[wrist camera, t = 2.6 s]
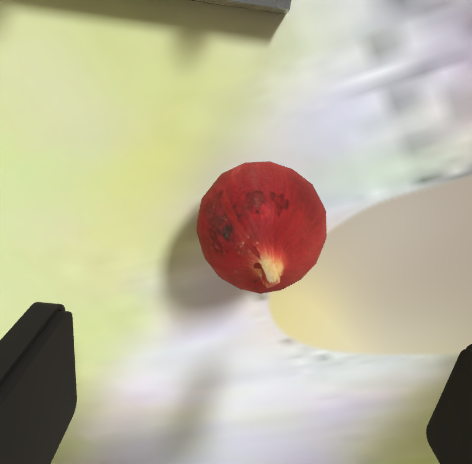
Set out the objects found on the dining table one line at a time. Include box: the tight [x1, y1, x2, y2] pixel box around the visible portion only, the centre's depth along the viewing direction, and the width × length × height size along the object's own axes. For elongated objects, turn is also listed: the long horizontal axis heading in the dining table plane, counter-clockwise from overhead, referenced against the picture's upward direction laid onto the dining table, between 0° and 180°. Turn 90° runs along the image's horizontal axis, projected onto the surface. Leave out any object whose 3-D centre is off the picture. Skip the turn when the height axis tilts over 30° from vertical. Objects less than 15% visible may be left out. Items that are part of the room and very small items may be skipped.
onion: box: [197, 162, 326, 294], centre depth 16 cm, size 6×6×8 cm
